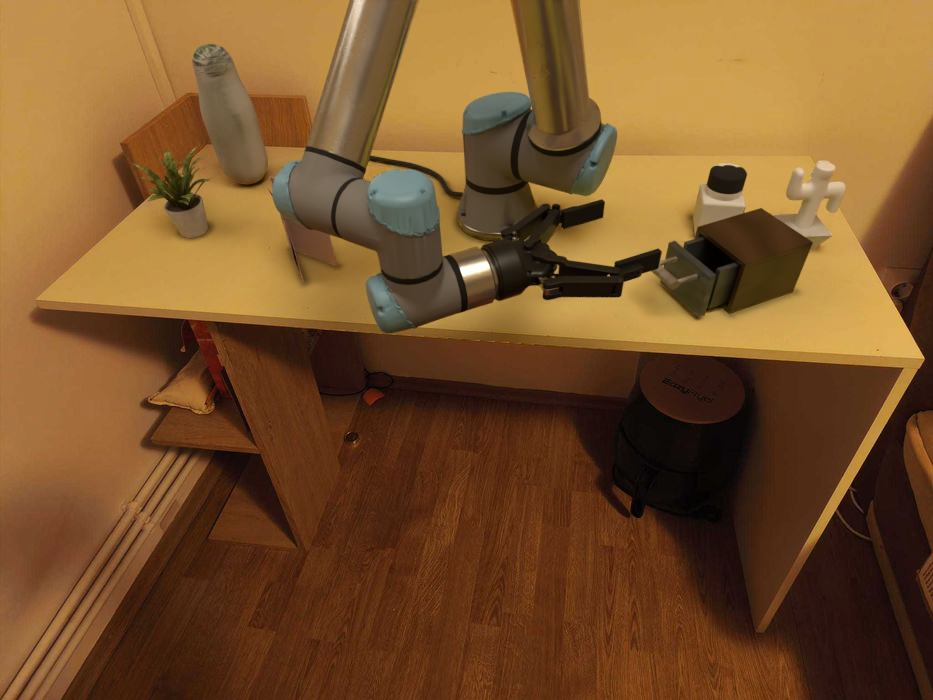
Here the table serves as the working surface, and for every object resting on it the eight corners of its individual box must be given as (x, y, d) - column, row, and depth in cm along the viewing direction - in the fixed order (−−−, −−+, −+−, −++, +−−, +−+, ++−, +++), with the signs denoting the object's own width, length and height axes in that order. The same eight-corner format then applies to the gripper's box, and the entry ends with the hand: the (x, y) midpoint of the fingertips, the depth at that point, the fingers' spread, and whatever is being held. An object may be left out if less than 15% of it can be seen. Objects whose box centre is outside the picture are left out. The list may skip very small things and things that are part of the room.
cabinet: (729, 313, 96) (745, 263, 90) (685, 275, 104) (697, 226, 97) (792, 292, 99) (813, 242, 93) (745, 256, 107) (761, 207, 100)
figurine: (831, 253, 106) (866, 173, 96) (776, 255, 106) (805, 176, 96) (813, 230, 112) (845, 152, 101) (761, 232, 112) (787, 155, 101)
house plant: (250, 229, 121) (224, 150, 110) (186, 261, 114) (151, 180, 103) (213, 205, 128) (184, 129, 117) (150, 234, 121) (114, 156, 110)
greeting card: (286, 250, 115) (263, 177, 104) (324, 240, 117) (306, 167, 106) (299, 284, 107) (276, 208, 97) (340, 272, 109) (322, 197, 99)
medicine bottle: (735, 240, 110) (754, 179, 102) (694, 237, 112) (709, 177, 103) (731, 219, 115) (748, 159, 107) (692, 216, 117) (706, 157, 108)
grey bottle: (217, 183, 135) (169, 48, 116) (256, 165, 140) (215, 33, 121) (244, 196, 130) (197, 58, 111) (282, 177, 136) (245, 42, 116)
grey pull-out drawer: (671, 326, 93) (681, 286, 88) (634, 290, 100) (641, 250, 95) (758, 297, 97) (772, 256, 92) (717, 263, 104) (728, 224, 99)
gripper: (453, 248, 90) (580, 212, 95) (530, 356, 73) (679, 306, 78) (450, 203, 85) (584, 167, 90) (532, 308, 68) (691, 257, 73)
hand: (629, 232), depth 84 cm, fingers open, 13 cm apart
